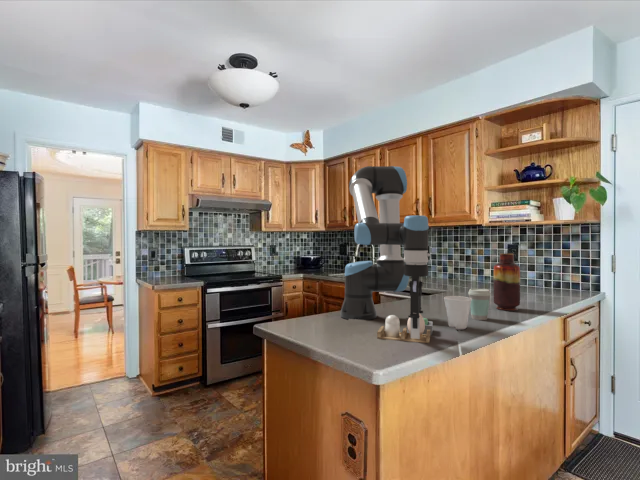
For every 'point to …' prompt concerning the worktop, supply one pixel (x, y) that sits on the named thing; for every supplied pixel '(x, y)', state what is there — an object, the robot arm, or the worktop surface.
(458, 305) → the cup
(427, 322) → the button
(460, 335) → the worktop surface
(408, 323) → the egg
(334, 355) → the worktop surface
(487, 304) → the coffee cup
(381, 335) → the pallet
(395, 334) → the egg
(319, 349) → the worktop surface
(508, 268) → the vase
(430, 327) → the button collar
